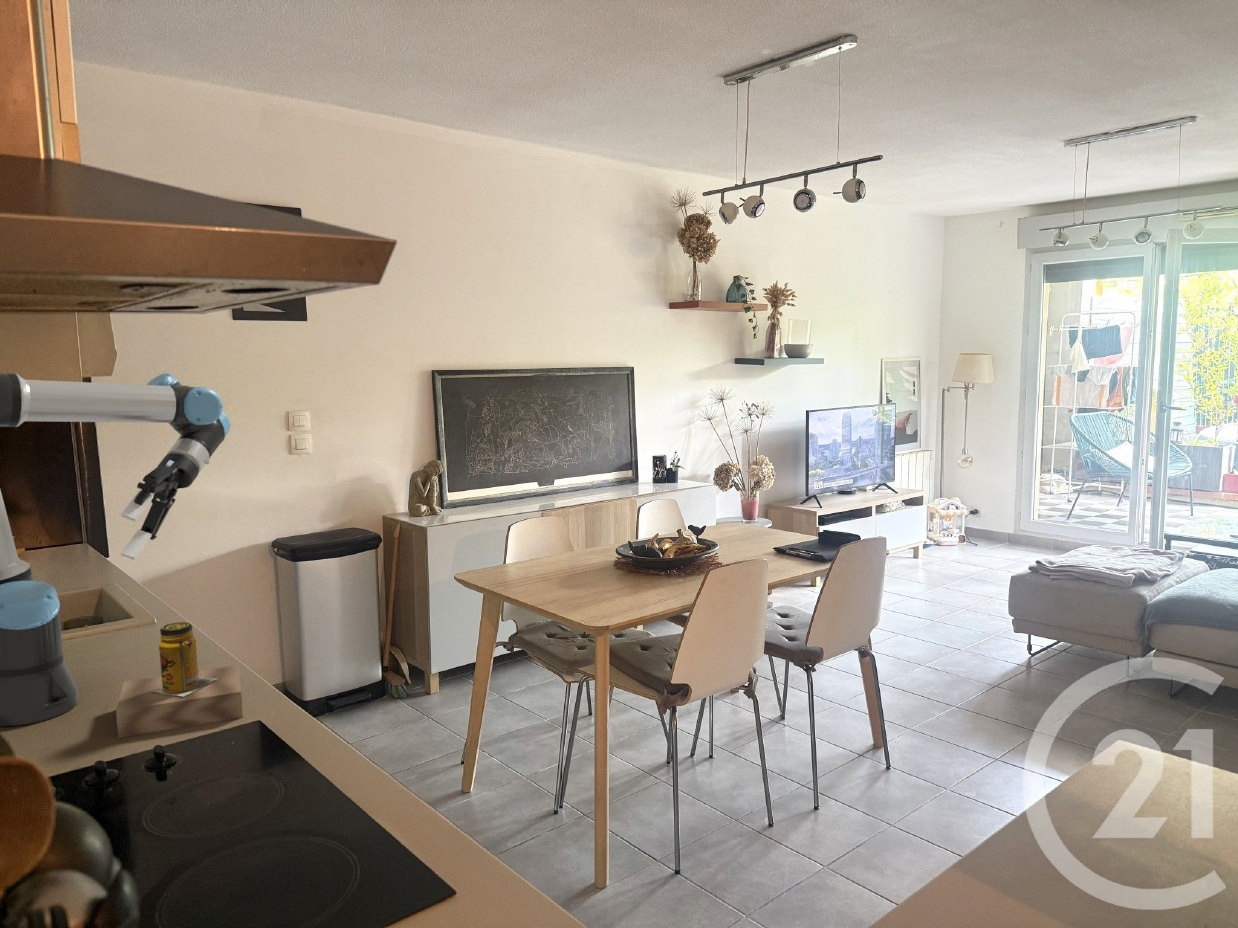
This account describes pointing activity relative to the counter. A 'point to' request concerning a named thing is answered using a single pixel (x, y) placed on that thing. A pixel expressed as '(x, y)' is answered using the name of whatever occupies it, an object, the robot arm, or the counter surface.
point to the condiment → (179, 661)
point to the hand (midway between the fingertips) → (127, 537)
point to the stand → (178, 703)
